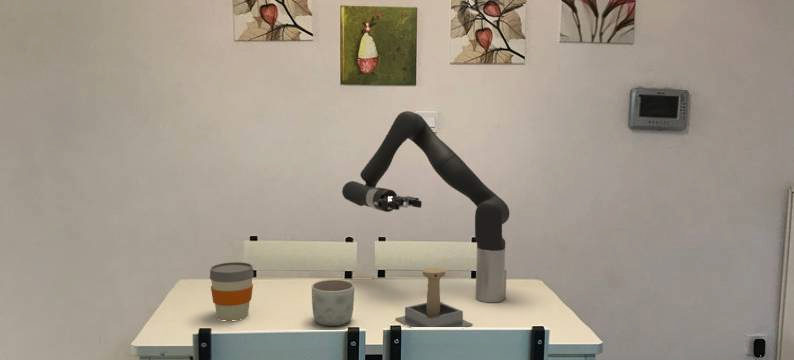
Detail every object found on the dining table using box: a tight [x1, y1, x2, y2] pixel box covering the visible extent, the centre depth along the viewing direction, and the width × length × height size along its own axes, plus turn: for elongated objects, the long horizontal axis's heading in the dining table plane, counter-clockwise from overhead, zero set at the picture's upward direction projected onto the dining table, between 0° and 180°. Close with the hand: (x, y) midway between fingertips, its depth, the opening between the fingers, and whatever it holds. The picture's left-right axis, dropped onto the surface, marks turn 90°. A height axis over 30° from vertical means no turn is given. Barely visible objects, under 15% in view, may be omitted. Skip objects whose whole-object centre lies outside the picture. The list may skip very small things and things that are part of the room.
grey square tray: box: [395, 301, 473, 328], centre depth 171 cm, size 16×16×4 cm
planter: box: [311, 279, 355, 327], centre depth 171 cm, size 12×12×11 cm
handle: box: [422, 267, 446, 317], centre depth 171 cm, size 5×6×15 cm
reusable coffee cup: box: [209, 261, 254, 322], centre depth 174 cm, size 13×13×15 cm
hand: (409, 205), depth 185 cm, fingers open, 8 cm apart
